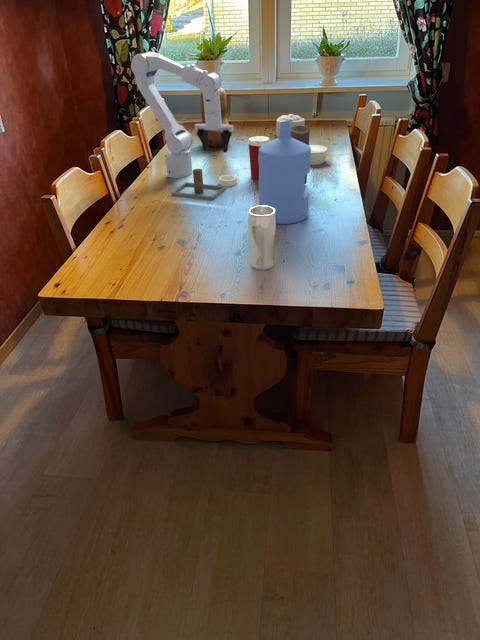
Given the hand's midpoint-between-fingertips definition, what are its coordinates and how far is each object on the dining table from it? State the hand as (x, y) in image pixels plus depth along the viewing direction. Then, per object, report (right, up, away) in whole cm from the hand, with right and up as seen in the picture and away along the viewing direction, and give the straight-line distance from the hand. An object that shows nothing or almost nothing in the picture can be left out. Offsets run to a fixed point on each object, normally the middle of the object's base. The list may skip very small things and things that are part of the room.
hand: (216, 151), depth 181 cm
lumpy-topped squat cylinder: (+33, +26, +55) cm, 69 cm away
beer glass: (+15, -47, -51) cm, 71 cm away
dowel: (-6, -17, -7) cm, 19 cm away
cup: (+4, -12, 0) cm, 13 cm away
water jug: (+23, -29, -24) cm, 44 cm away
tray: (-6, -17, -7) cm, 20 cm away
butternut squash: (-2, +17, +43) cm, 47 cm away
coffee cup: (+16, -10, +4) cm, 19 cm away
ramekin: (+38, +2, +20) cm, 43 cm away
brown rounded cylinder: (+29, -13, -2) cm, 32 cm away
